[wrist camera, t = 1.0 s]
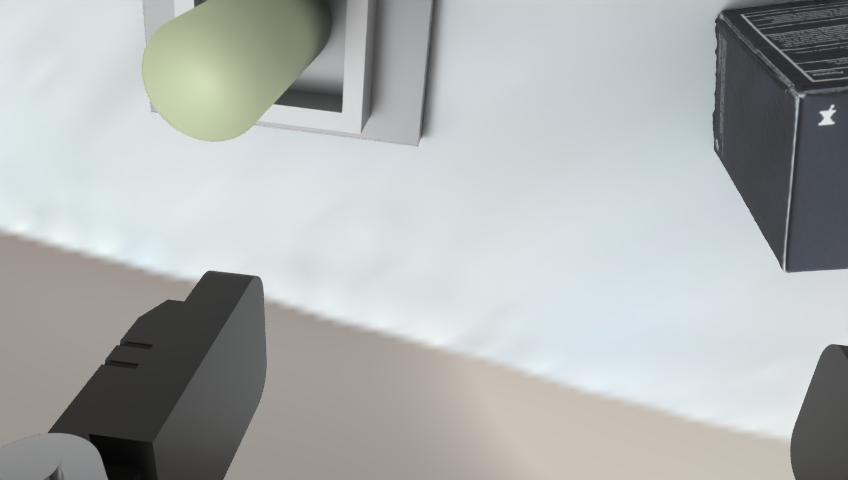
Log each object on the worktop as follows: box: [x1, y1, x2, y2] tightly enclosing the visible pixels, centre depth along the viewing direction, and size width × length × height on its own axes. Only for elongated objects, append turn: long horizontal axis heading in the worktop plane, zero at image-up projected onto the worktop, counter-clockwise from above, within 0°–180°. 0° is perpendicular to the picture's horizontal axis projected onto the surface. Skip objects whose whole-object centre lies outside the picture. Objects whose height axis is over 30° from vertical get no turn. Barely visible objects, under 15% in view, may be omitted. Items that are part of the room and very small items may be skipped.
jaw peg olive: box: [142, 0, 332, 142], centre depth 29 cm, size 4×4×9 cm
